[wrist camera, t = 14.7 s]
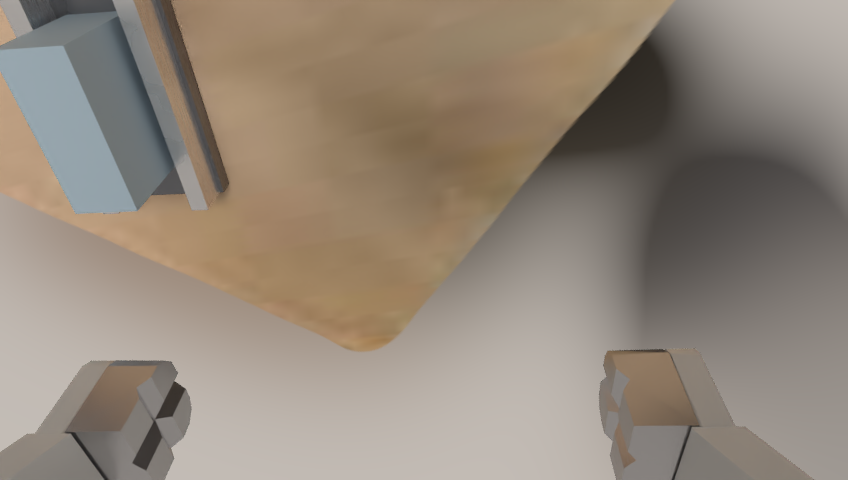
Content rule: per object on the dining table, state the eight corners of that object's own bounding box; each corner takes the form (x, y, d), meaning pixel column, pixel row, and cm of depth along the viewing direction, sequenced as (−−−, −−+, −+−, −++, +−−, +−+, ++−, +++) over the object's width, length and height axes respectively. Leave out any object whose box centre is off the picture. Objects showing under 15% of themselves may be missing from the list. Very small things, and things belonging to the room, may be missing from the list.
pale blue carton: (129, 160, 40) (75, 213, 34) (66, 14, 34) (-11, 50, 29) (182, 157, 40) (137, 210, 34) (128, 10, 34) (63, 45, 28)
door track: (19, -41, 34) (-22, -29, 31) (153, -52, 33) (124, -40, 30) (123, 188, 43) (99, 214, 40) (228, 183, 42) (212, 209, 39)
